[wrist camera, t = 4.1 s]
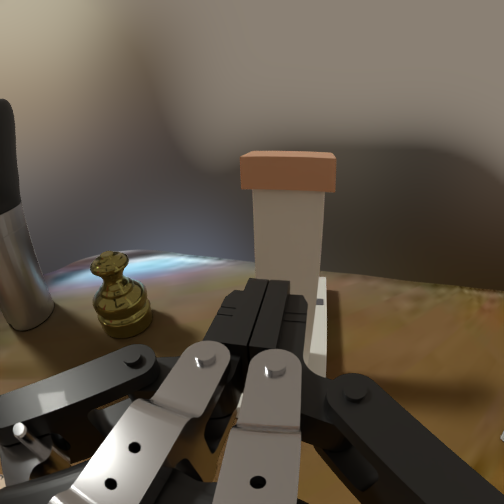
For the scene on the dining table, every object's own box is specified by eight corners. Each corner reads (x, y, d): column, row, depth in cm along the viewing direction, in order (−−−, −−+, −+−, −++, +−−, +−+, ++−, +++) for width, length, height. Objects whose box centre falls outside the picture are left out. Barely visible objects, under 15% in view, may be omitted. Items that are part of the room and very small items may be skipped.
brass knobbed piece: (114, 304, 36) (95, 242, 32) (159, 305, 36) (144, 239, 32) (94, 337, 30) (67, 269, 25) (145, 342, 30) (121, 268, 25)
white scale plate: (228, 416, 21) (226, 404, 20) (269, 285, 40) (269, 272, 39) (320, 427, 19) (323, 416, 18) (324, 289, 39) (326, 276, 38)
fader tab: (251, 369, 23) (239, 156, 16) (258, 342, 27) (252, 151, 19) (313, 375, 22) (336, 158, 14) (314, 347, 26) (332, 152, 18)
